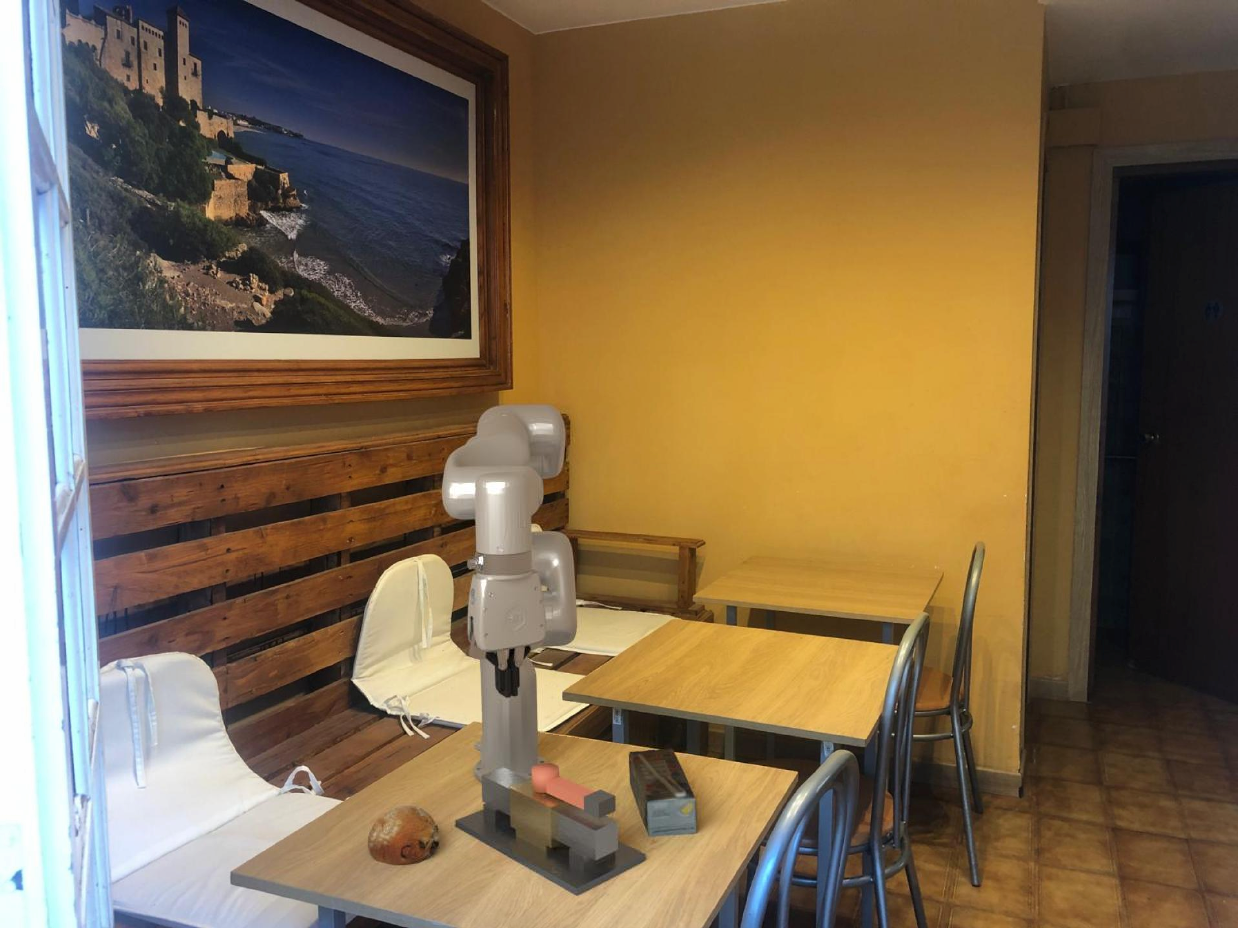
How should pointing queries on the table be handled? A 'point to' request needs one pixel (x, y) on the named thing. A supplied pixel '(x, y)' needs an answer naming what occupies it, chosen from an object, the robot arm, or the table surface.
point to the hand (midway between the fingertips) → (507, 693)
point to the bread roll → (403, 836)
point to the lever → (571, 791)
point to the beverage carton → (662, 793)
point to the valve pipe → (548, 833)
